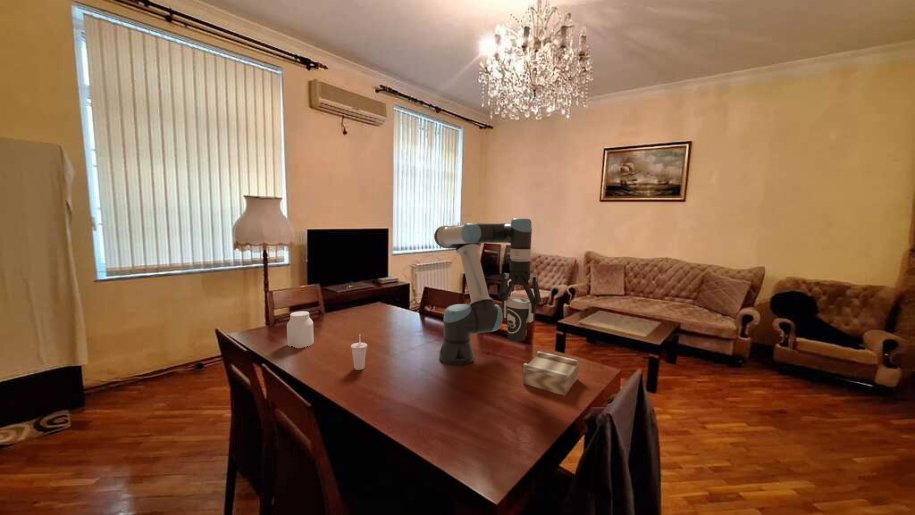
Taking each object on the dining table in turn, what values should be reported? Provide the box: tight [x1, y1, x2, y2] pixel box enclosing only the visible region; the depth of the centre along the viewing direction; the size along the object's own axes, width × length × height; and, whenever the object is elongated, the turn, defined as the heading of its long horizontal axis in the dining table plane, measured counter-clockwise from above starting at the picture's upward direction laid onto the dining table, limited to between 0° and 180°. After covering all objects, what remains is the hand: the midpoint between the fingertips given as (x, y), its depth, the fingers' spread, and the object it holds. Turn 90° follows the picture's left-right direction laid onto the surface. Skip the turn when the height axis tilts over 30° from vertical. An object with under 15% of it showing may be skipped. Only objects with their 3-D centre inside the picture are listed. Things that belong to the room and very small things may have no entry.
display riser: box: [522, 351, 579, 397], centre depth 133 cm, size 16×16×8 cm
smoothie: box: [350, 333, 368, 371], centre depth 140 cm, size 6×6×14 cm
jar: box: [286, 310, 315, 349], centre depth 165 cm, size 12×10×15 cm
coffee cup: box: [506, 296, 531, 342], centre depth 131 cm, size 10×10×15 cm
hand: (518, 319), depth 131 cm, fingers closed on coffee cup, 9 cm apart
